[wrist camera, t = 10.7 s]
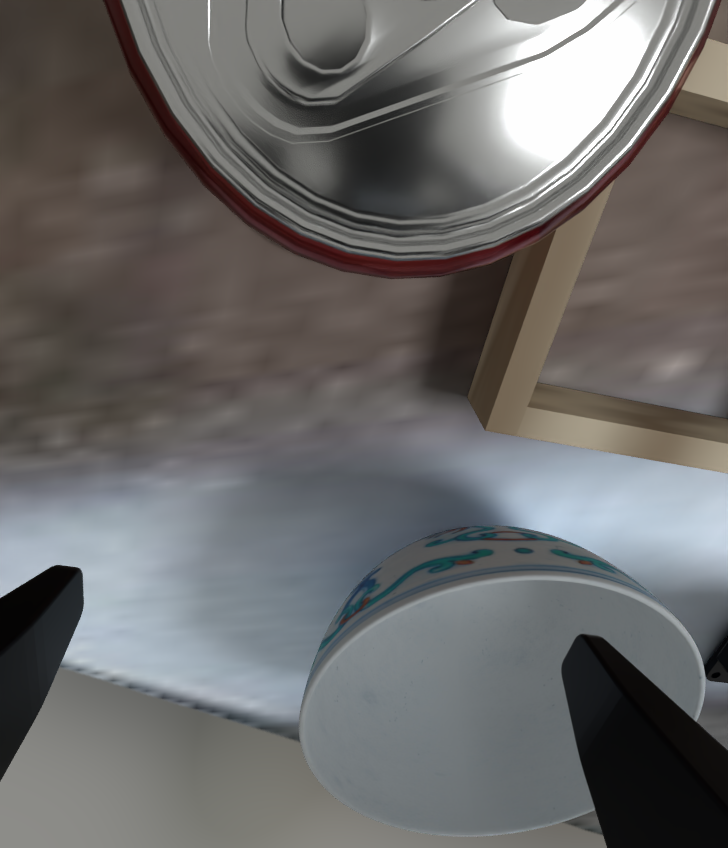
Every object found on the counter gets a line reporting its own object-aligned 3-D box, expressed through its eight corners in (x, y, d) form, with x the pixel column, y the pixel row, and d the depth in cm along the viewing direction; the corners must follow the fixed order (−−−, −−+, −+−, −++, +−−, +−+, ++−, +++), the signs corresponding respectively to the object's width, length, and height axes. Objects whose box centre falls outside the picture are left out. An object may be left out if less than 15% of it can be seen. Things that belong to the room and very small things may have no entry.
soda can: (419, -133, 14) (695, -1184, 3) (522, 137, 17) (846, 84, 6) (201, 34, 15) (-136, -285, 4) (331, 255, 18) (316, 384, 7)
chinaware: (670, 514, 25) (797, 649, 18) (509, 704, 31) (557, 861, 24) (387, 403, 22) (409, 515, 15) (268, 640, 27) (244, 799, 21)
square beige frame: (960, 148, 18) (1068, 145, 15) (766, 452, 23) (821, 489, 21) (583, 41, 16) (632, 16, 13) (467, 397, 21) (484, 430, 19)
